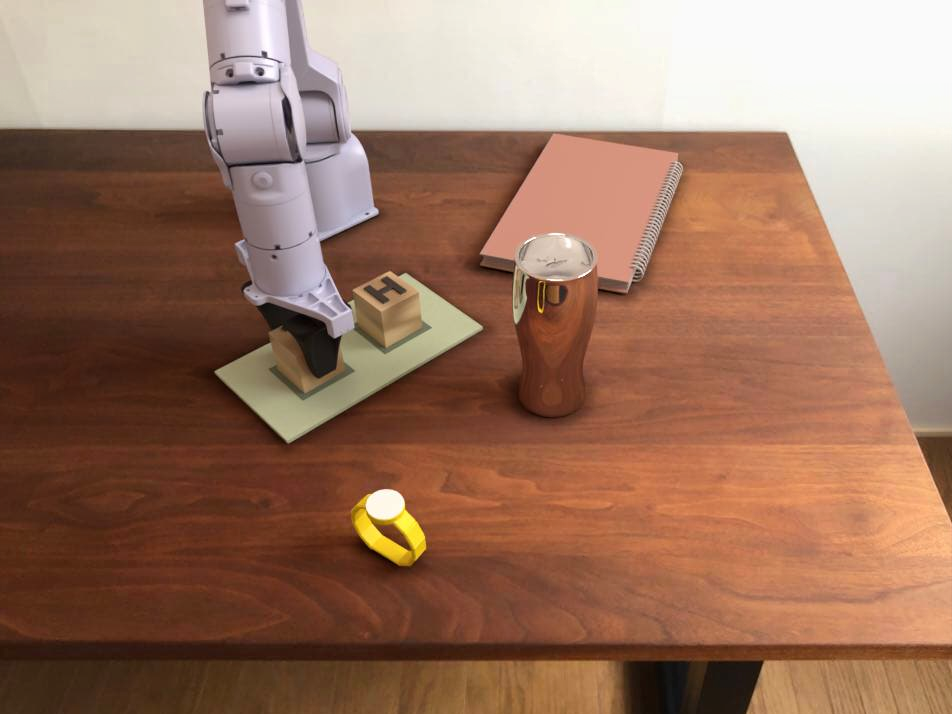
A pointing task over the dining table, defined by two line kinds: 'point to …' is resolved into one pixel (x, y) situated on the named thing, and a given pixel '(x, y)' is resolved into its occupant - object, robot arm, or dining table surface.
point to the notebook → (591, 204)
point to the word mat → (363, 368)
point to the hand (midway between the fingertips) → (309, 358)
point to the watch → (386, 511)
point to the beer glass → (554, 319)
